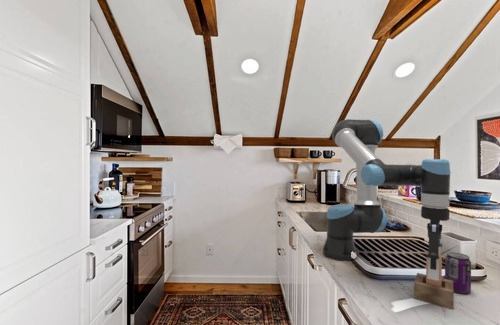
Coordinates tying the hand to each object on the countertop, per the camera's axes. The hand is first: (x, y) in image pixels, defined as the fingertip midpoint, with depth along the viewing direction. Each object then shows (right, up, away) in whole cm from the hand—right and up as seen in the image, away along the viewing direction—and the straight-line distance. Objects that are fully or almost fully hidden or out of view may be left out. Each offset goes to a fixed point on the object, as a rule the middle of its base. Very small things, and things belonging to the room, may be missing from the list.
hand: (434, 272), depth 86 cm
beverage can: (+12, -9, +5) cm, 16 cm away
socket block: (0, -8, 0) cm, 8 cm away
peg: (0, -8, 0) cm, 8 cm away
